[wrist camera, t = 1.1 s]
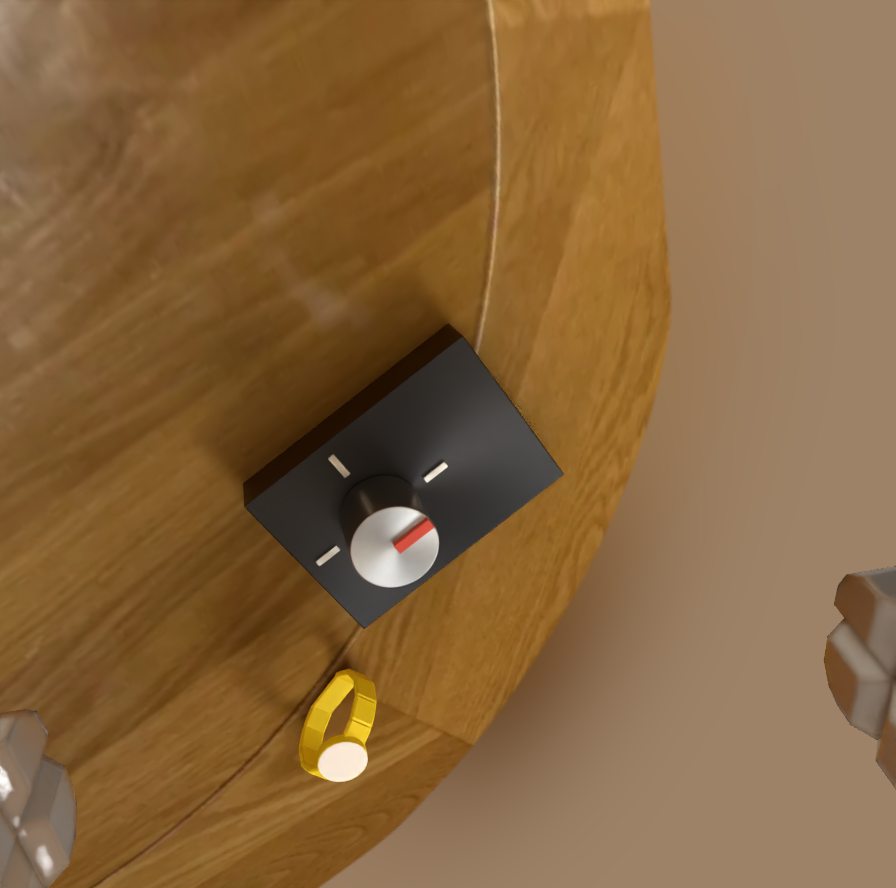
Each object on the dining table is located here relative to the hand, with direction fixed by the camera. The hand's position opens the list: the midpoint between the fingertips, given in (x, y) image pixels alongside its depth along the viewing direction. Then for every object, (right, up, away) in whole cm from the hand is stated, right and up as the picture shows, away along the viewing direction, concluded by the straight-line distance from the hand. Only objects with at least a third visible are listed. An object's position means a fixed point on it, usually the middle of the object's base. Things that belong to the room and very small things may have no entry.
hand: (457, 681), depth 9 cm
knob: (-4, -1, +36) cm, 36 cm away
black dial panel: (-3, +1, +39) cm, 39 cm away
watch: (-7, -13, +43) cm, 45 cm away
